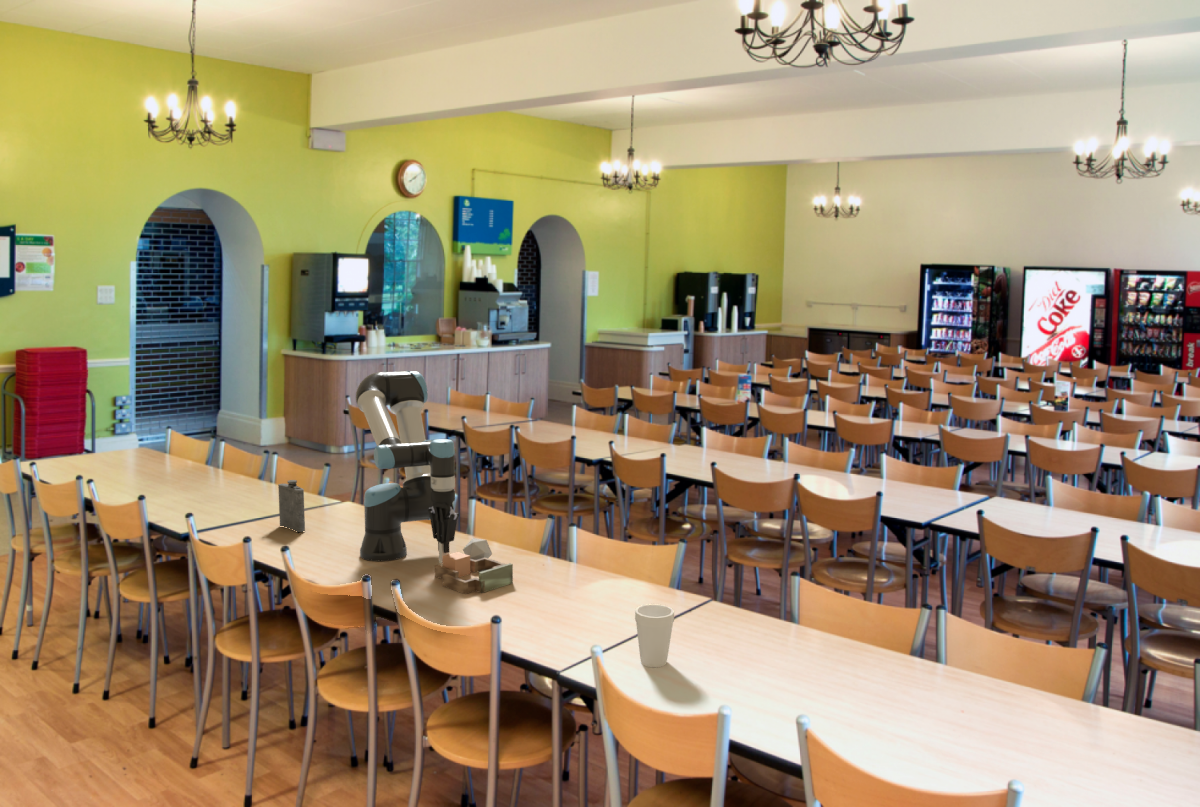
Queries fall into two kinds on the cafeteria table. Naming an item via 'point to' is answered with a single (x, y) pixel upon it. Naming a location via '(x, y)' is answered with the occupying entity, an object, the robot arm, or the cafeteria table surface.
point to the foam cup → (654, 633)
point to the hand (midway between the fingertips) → (443, 561)
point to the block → (457, 563)
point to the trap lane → (489, 576)
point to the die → (477, 549)
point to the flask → (291, 506)
